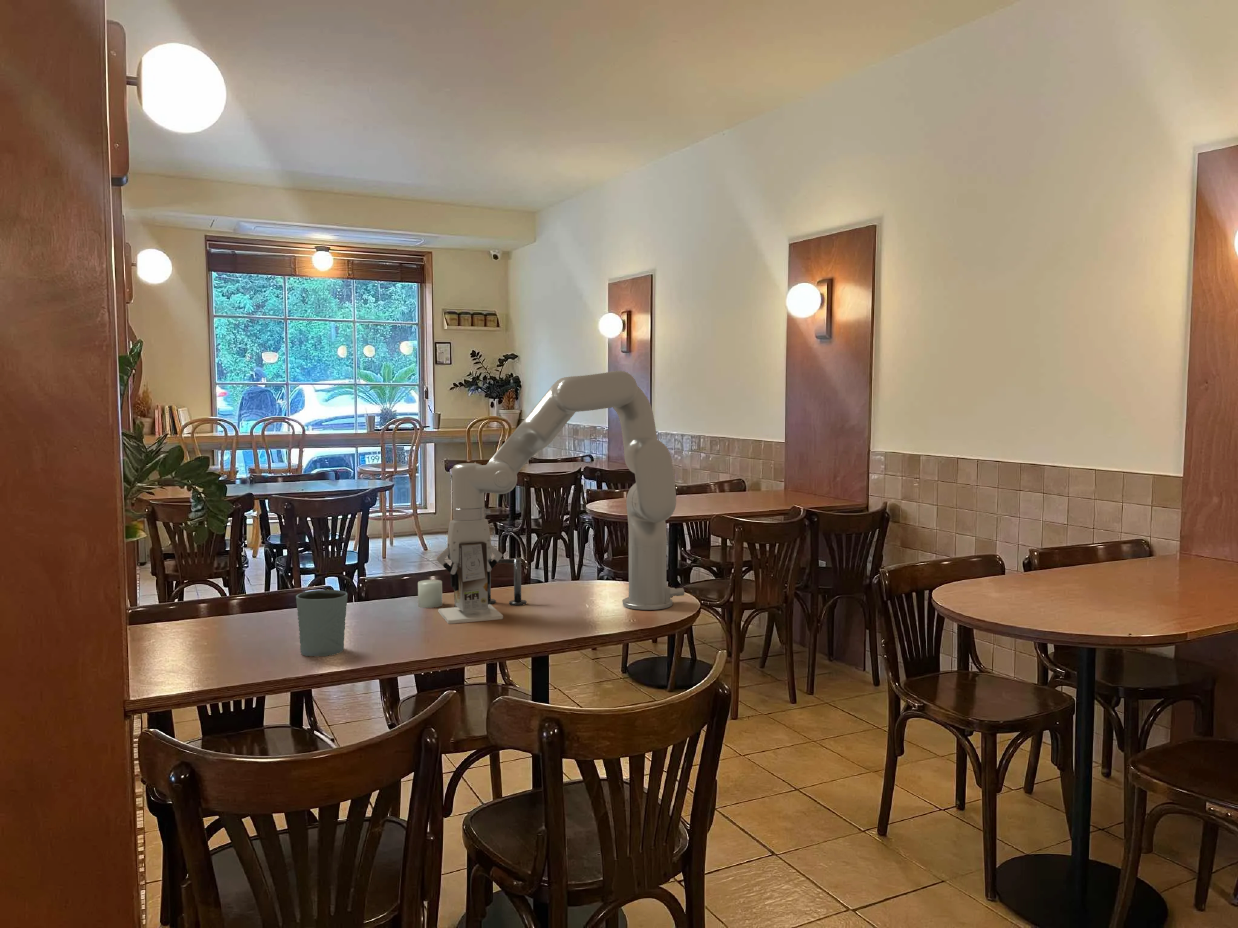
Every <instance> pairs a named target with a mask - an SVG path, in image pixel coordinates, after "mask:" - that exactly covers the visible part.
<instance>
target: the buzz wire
mask: <svg viewBox="0 0 1238 928" xmlns="http://www.w3.org/2000/svg"><path fill="white" fill-rule="evenodd" d="M492 559H493V557H491V559H489V560H487V561H488V563H489V562H490V561H491V560H492ZM499 563H501V564H513V596H514V598H513V599H511V600H509V601H508V603H509V604H510V606H514V607H515V606H516V607H520V606H524V605H523V604H525V605H527V604H526V603H527V600H526V599H522V559H521V558H501V559H500V560H499V561H498V562H497V564H499ZM491 579H492V578H490V584H488V605H489V604H490V605H494V604H496V603H497V600H496V599H495V598H492V596H491V595H492V594H491V593H492V592H491V591H492V588H491V585H492V583H491ZM509 604H508V605H509ZM454 607H457V606H455V605H454ZM454 607H453V608H454Z"/></svg>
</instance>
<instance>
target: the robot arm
mask: <svg viewBox="0 0 1238 928" xmlns="http://www.w3.org/2000/svg"><path fill="white" fill-rule="evenodd" d="M610 408H612V409H614V411H615V413H616V415H617V416H618V419H619V423H620V428H621V429H620V430H621V437H622V443H623V444H622V445H623V456H624V463H625V465H626V467H627V468H628V470H629V471H630V472H631V473H632V474H634V477H635V479H634V480H635V483H633V485H632V486H630V488H629V489H628V492H627V495H626V500H625V501H626V502H625V503H626V507H625V508H626V514H627V524H628V525H627V527H628V529H627V530H628V597H625V598H624V599H622V606H623V607H625V608H627V609H632V610H642V611H651V610H652V611H653V610H663V609H668V608H670V607H672V606H673V603H674V602H673V599H672V598H673V597H675V596H676V597H680V596H681V597H684V595H685V590H684V589H685V588H684V587H679V588H678V587H677V588H675V587H670V586H668V585H667V526H666V525H667V523H666V521H667V520H668V519H669V518H671V517H672V515H673V514H674V512H675V509H676V507H677V506H676V505H677V492H676V484H675V483H676V482H675V476H674V474H675V473H674V466H673V460H672V456H671V453H670V451H669V448H668V447H667V446H666V445H665V443H663V442H662V441H660V440H659V439H658V435H657V429H656V428H657V427H656V423H655V416H654V411H653V408H652V405H651V403H650V400H649V399H648V396H647V395H646V393H644V391H643V390H642V389H641V388H640V387H639V386H638V383H637V382H636V379H635V377H634V376H632V374H630V373H628V372H627V371H624V370H612V371H606V372H602V373H601V372H600V373H594V374H585V375H573V376H572V375H571V376H563V377H561V378H559V379H558V380H557V381H555V382H554V383H553V384H552V385H551V386H550V388H549V389H548V390H547V391H546V393H545V394H544V395H543V396H542V397H541V399H540V400H539V401H538V402H537V404H536V405H535V406H534V407H533V408H532V409H531V410H530V412H529V413H528V414H527V416H526V417H525V418H524V419H523V420H522V421H521V423H520V424H519V425H518V426H517V427H516V429H515V430H514V431H513V432H512V433H511V435H510V436H509V437H508V438H507V439H506V441H504V443H503V444H502V445H501V446H500V447H499V449H498V450H497V451H496V452H495V453H494V455H493V456H492V457H491V458H490V459H489V461H488V462H487V464H483V465H482V464H481V463H475V462H474V463H473V462H468V463H467V462H465V463H458V464H455V465H453V467H452V469H451V471H452V472H451V478H452V479H451V481H452V482H451V483H452V484H451V485H452V489H451V490H452V520H449V523H448V529H447V531H448V532H447V543H446V544H447V546H446V547H445V549H444V550H443V551H442V552H441V553H440V554H439V555H438V556H437V557H436V561H437V562H438V563H439V564H440V565H441V566H442V567H443V568H444V569H445V570H446V571H447V572H448V573H450V574H449V575H450V587H451V588H452V589H453V591H454V590H455V591H458V574H457V572H456V571H457V568H458V563H459V544H461V543H476V542H485V543H487V560H489V559H491V558H492V560H491V561H490V562H489V563H488V561H487V585H488V584H490V579H491V571H492V570H493V568H494V567H495V566H496V565H497V564H498V563H497V562H498V561H499V560H500V559H502V557H503V553H502V552H500V551H499V550H498V549H497V548H496V547H494V546H493V544H492V540H491V539H492V538H491V533H490V532H491V530H490V526H489V521H488V519H487V518H486V517H487V516H489V515H491V513H492V512H491V509H490V508H486V507H485V493H487V494H488V493H489V494H497V495H503V494H508V493H510V492H511V491H513V490H514V488H515V487H516V486H517V483H518V476H517V475H518V473H519V472H520V471H521V469H523V467H524V466H525V465H526V464H527V463H528V462H529V461H530V460H531V459H532V458H533V457H534V456H535V455H536V454H537V453H539V452H540V451H542V450H544V449H545V448H547V447H548V446H549V445H550V444H551V443H552V442H553V441H554V439H555V438H556V437H557V435H559V433H560V432H561V431H562V429H563V428H564V427H565V426H566V424H567V423H569V421H570V420H571V419H572V417H573V416H574V415H575V414H576V413H577V412H578V413H579V412H588V411H598V410H604V409H610ZM492 554H493V555H494V556H493V557H492ZM446 558H447V559H448V560H449V561H450V565H449V564H448V563H447V562H446Z"/></svg>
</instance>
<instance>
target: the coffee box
mask: <svg viewBox="0 0 1238 928" xmlns="http://www.w3.org/2000/svg"><path fill="white" fill-rule="evenodd" d="M456 572H457V574H458V591H455V590H454V589H453V595H454V596H453V597H454V599H453V600H454V606H457V607H458V608H459V609H461V610H462V611H463V612H466V611H475V610H485V609H488V585H487V543H485V542H476V543H461V544H459V563H458V568H457V571H456Z"/></svg>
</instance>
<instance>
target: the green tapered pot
mask: <svg viewBox="0 0 1238 928" xmlns="http://www.w3.org/2000/svg"><path fill="white" fill-rule="evenodd" d="M348 595H349V594H348V592H347V591H344V590H338V589H321V590H320V589H319V590H318V589H317V590H310V591H305V592H300V593H298V594H296V595H295V599H296V600H295V603H296V610H297V620H298V631H299V633H298V634H299V637H298V639H299V644H300V645H299V650H300V653H301V655H302V656H304V655H305V656H304V657H308V656H324V657H329V656H328V655H331V656H334V654H335V655H338V654H340V653H342V652H343V651H344V649H345V630H346V616H347V606H348ZM337 653H338V654H337Z"/></svg>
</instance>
